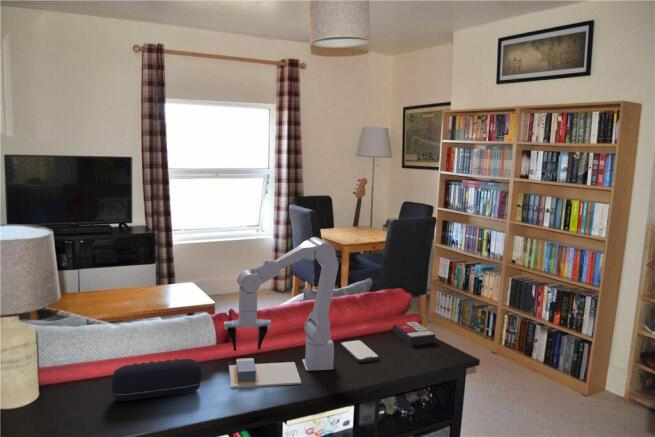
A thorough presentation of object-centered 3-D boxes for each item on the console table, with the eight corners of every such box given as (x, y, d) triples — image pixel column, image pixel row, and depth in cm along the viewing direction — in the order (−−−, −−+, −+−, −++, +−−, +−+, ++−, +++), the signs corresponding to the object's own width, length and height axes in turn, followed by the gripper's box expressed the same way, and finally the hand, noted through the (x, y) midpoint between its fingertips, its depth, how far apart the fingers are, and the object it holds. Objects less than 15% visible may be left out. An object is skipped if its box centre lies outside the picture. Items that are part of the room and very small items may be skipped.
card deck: (255, 380, 164) (255, 370, 163) (237, 381, 163) (238, 371, 162) (253, 367, 173) (253, 358, 172) (236, 368, 171) (236, 358, 171)
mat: (294, 363, 178) (294, 361, 178) (301, 383, 165) (301, 382, 165) (229, 367, 174) (229, 365, 173) (230, 388, 160) (230, 386, 160)
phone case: (338, 346, 196) (358, 364, 181) (339, 342, 195) (358, 360, 181) (360, 343, 199) (380, 360, 185) (360, 339, 199) (380, 356, 184)
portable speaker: (198, 381, 164) (198, 351, 162) (202, 397, 155) (203, 366, 153) (112, 392, 155) (111, 360, 153) (111, 409, 146) (110, 376, 144)
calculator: (416, 320, 215) (436, 333, 201) (415, 330, 215) (435, 343, 201) (392, 322, 211) (411, 335, 197) (392, 333, 211) (410, 346, 198)
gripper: (269, 303, 169) (268, 342, 172) (224, 304, 166) (223, 344, 169) (272, 311, 163) (270, 351, 165) (224, 312, 159) (224, 354, 162)
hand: (247, 348), depth 166 cm, fingers open, 7 cm apart
